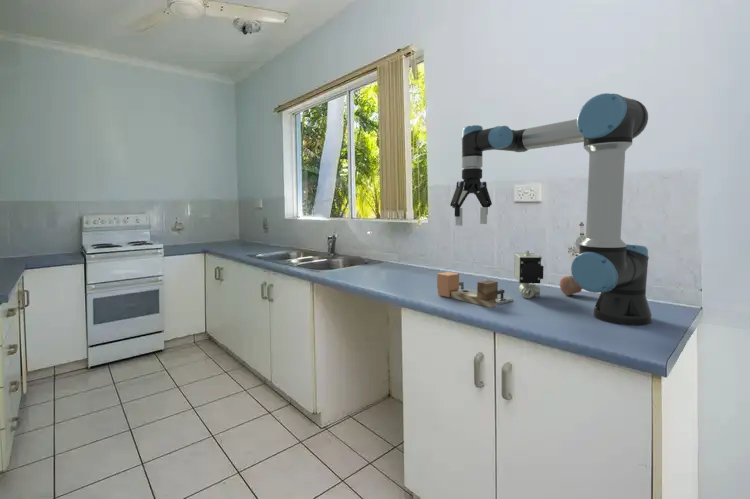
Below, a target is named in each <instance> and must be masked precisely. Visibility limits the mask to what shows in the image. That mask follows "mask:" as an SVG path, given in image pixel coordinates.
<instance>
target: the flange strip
mask: <svg viewBox="0 0 750 499" xmlns="http://www.w3.org/2000/svg"><path fill="white" fill-rule="evenodd" d="M458 291H461V292H466V293H470V294H474V295H477V289H472V288H464V289H463V290H462V289H458ZM513 301H514V297H513V298H512V297H508V296H504V295H503V298H501V294H498V298H497V299H496V305H497V306H498V305H503V304H506V303H510V302H511V303H512V302H513Z"/></svg>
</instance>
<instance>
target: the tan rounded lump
mask: <svg viewBox="0 0 750 499" xmlns="http://www.w3.org/2000/svg"><path fill="white" fill-rule="evenodd" d="M559 288H560V290H561V292H562V293H563V294H564V295H565V296H568V297H569V296H571V295H575V294H578V293H581V291H582V290H583V288H581V287H580V286H579V285H578V284H577V283H576V282H575V280H574V278H573V276H572V274H571V275H564V276H562V277H561V279H560V280H559Z"/></svg>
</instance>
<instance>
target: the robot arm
mask: <svg viewBox="0 0 750 499" xmlns="http://www.w3.org/2000/svg"><path fill="white" fill-rule="evenodd" d="M648 121H649V112H648V108H646V106H645V105H644V104H643V103H642V102H641V101H640V100H636V99H634V98H629V97H625V96H622V95H620V94H618V93H600V94H597V95H594V96H592V97H591V98H590V99H588V100H587V101H586V102H585V104H584V105H582V107H581V108H580V110H579V112H578V114H577V116H576V118H575V119H570V120H566V121H560V122H559V121H558V122H554V123H549V124H544V125H538V126H535V127H528V128H522V129H518V130H516V129H511V128H510V127H509V126H508V125H498V126H494V127H490V128H486V129H485V128H484V129H483V126H481V125H479V124H478V125H467V126H464V127H463V128H462V131H461V132H462V134H461V168H462V170H461V179H462V180H459V181H457V182H456V188H455V191H454V192H453V195H452V196H453V197H452V198H451V201H450V204H449V205H450V207H452V208H453V209H454V217H455V226H463V207H462V206H463V204H464V201H465V200H466V199H467V197H468V196H469V194H474V196H475V197H476V198H477V200H478V202H479V203H480V206H481V207H479V208H480V212H479V215H480V219H479V224H480V225H487V224H488V211H489V209H488V208H490V207H491V206H492V204H493V203H492V198H491V196H490V193H489V191H488V187H487V186H488V185H487V181H481V179H483V169H482V168H483V152H485V151H493V150H495V151H507V152H515V153H523V152H524V153H525V152H527V151H529V150H534V149H542V148H549V147H559V146H564V145H565V146H566V145H570V144H571V145H572V144H578V143H583V149H584V150H585V151H586V152H587V153H588V155H589V157H588V158H589V159H588V177H587V178H588V179H587V182H588V183H587V202H586V204H587V206H586V224H585V225H586V226H585V229H586V230H585V238H584V239H583V240H582V241H581V242H579V252H578V255H576V257H575V258H574V259H573V261H572V263H571V267H570V273H571V275H572V276H573V278H574V280H575V282H576V283H577V284H578V285H579V286H580V287H581V288H582V290H584V291H587V292H590V293H592V294H593V293H595V294H599V296H598V299H597V301H596V303H595V306H594V308H593V316H594V317H595V318H596V319H598V320H600V321H603V322H608V323H612V324H619V325H625V326H642V325H643V326H644V325H648V324H651V323H652V311H651V309H650V306H649V303H648V299H647V296H646V295H647V279H648V264H649V259H650V257H649V250H648V248H647V246H644V245H640V244H639V245H638V244H626V243H625V241H623V240H622V238H621V237H622V222H623V220H622V219H623V217H622V216H623V200H624V199H623V198H624V181H625V180H624V179H625V163H626V161H625V159H626V151H627V150H628V149H629V148H631V146H632V145H633V140H634V139H635V138H637V137H639V136H640V134H642V132H643V131H645V129H646V127H647V125H648Z"/></svg>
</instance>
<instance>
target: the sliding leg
mask: <svg viewBox="0 0 750 499" xmlns="http://www.w3.org/2000/svg"><path fill="white" fill-rule="evenodd" d="M436 276H437V278H436V279H437V282H436V284H437V285H436V287H437V288H436V289H437V295H438V296H441V297H442V296H443V297H446V298H450V291H451V290H457V291H458V290H463V289H465V286H464V281H460V274H459V273H456V272H451V271H446V272H440V273H439V272H438V273H437V275H436Z"/></svg>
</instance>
